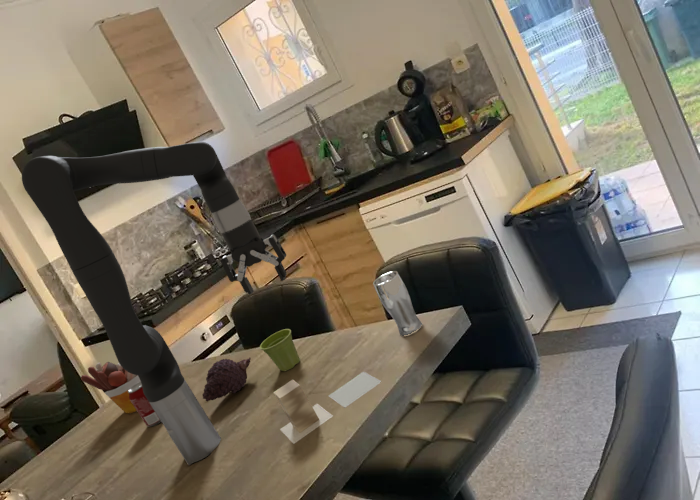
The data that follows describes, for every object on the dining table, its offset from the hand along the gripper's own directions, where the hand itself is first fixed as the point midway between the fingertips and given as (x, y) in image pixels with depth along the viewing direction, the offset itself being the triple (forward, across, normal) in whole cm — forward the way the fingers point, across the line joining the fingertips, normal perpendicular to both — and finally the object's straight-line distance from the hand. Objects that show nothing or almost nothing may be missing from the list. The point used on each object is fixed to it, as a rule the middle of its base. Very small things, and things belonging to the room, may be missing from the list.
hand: (267, 286), depth 153 cm
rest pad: (+27, +11, -10) cm, 31 cm away
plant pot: (+28, -12, +19) cm, 36 cm away
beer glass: (+27, +24, +10) cm, 38 cm away
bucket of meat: (+29, -70, +38) cm, 85 cm away
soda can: (+29, -55, +19) cm, 65 cm away
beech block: (+27, 0, -17) cm, 32 cm away
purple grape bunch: (+28, -29, +16) cm, 43 cm away
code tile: (+28, 0, -17) cm, 32 cm away
